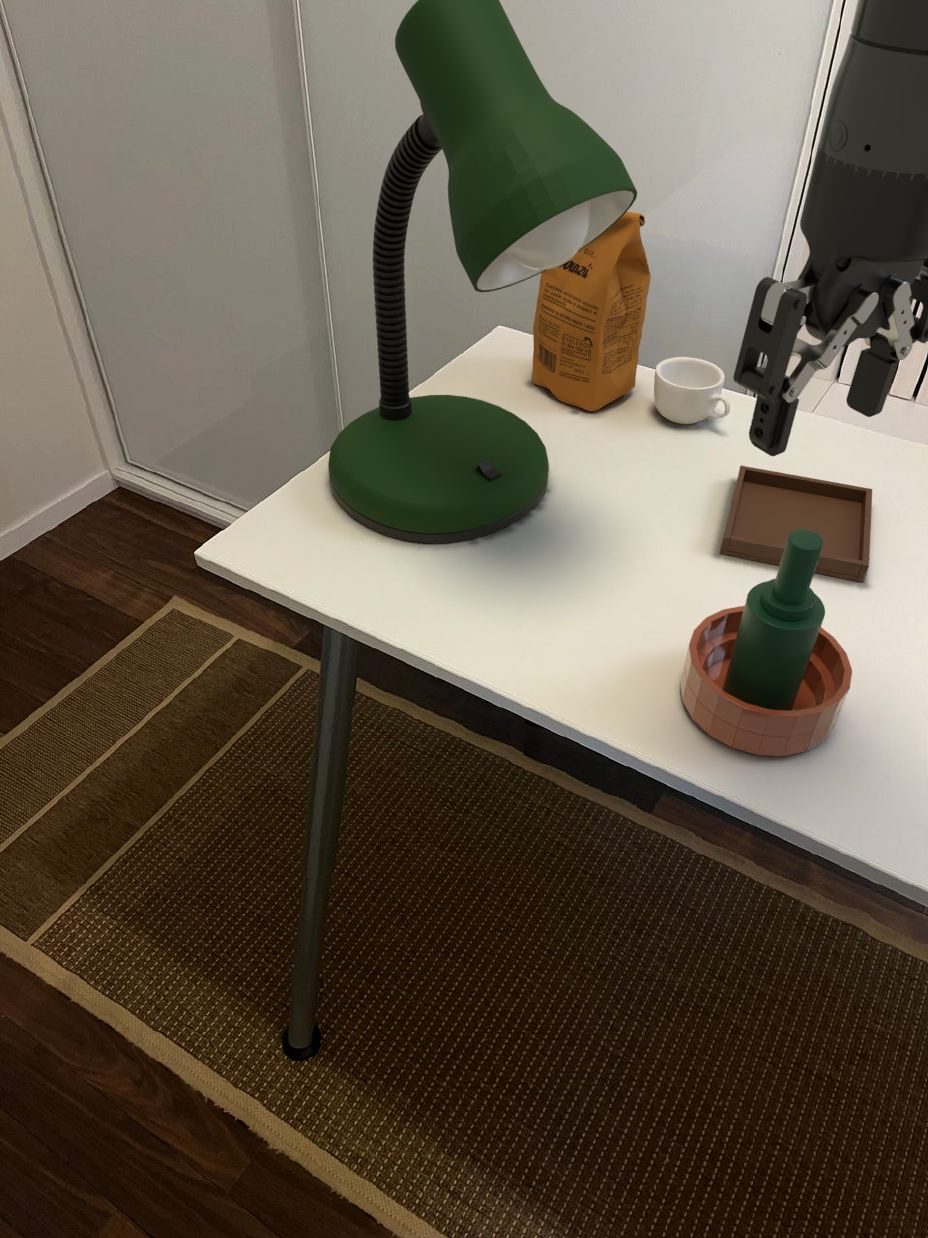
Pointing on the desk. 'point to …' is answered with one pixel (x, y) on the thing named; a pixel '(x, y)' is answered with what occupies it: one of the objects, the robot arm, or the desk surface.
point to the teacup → (688, 390)
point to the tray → (799, 520)
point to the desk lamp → (470, 270)
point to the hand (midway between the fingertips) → (815, 429)
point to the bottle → (778, 629)
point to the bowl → (753, 723)
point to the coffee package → (593, 318)
